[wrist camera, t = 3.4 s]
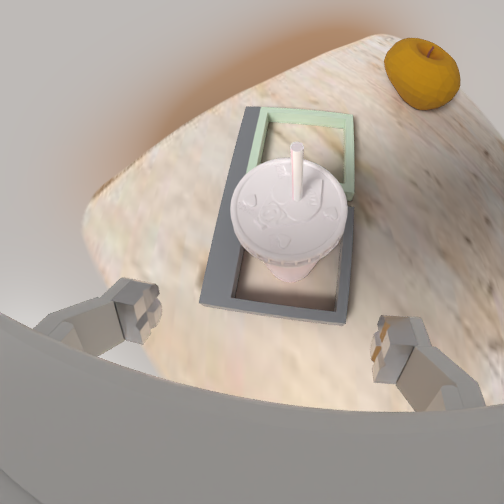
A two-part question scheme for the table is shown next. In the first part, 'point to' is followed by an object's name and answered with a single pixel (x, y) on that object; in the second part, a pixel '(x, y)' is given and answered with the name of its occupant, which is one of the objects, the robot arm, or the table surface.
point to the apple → (422, 73)
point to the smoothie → (289, 214)
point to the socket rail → (229, 247)
